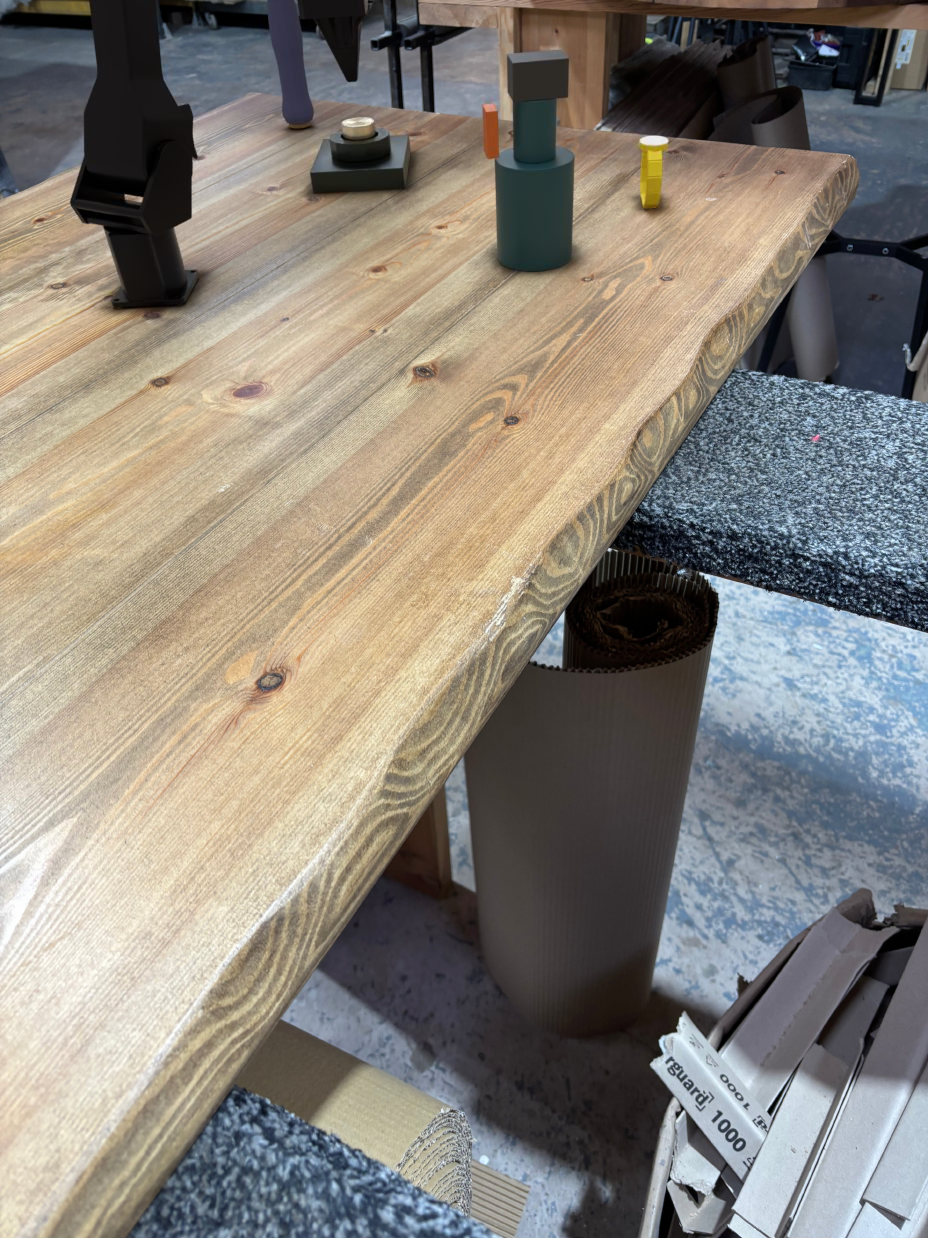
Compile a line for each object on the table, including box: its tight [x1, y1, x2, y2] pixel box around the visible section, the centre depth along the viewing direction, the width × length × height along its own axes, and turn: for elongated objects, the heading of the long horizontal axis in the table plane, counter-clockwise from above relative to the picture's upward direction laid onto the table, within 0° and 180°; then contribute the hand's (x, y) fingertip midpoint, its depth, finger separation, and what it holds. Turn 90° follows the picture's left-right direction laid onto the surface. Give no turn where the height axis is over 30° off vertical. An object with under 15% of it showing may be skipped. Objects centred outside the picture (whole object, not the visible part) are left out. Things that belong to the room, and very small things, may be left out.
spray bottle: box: [494, 48, 576, 272], centre depth 80 cm, size 7×7×16 cm
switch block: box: [309, 126, 411, 195], centre depth 103 cm, size 12×10×4 cm
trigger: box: [481, 102, 500, 160], centre depth 78 cm, size 1×2×4 cm, turn 6°
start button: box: [340, 116, 376, 141], centre depth 102 cm, size 4×4×2 cm
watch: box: [638, 135, 669, 209], centre depth 91 cm, size 6×3×6 cm, turn 178°
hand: (352, 80), depth 98 cm, fingers closed
